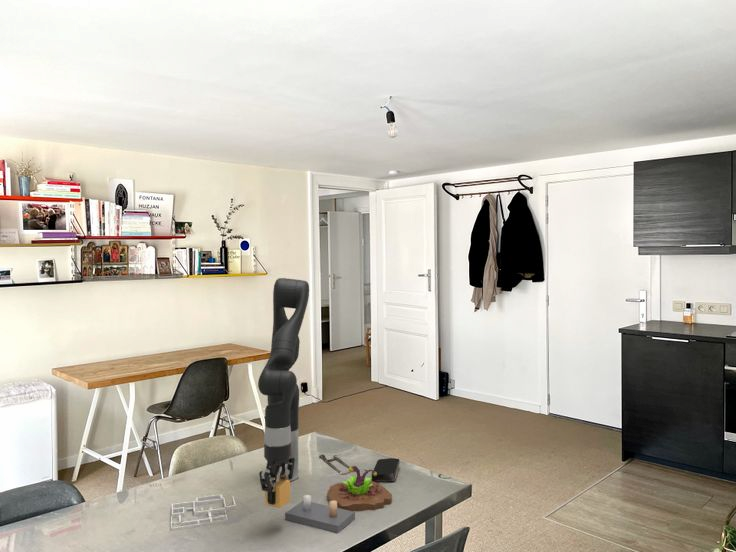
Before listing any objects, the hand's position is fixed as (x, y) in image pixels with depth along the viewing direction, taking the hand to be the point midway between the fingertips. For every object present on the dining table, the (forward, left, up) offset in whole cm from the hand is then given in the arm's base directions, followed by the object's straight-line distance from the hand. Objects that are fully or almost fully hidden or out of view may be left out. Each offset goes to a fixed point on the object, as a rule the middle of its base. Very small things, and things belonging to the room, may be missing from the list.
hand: (277, 499), depth 160 cm
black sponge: (+10, +52, -9) cm, 54 cm away
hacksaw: (-9, +53, -9) cm, 55 cm away
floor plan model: (-29, +1, -9) cm, 30 cm away
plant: (+10, +29, -9) cm, 32 cm away
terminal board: (+7, +11, -8) cm, 16 cm away
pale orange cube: (0, 0, -1) cm, 1 cm away
